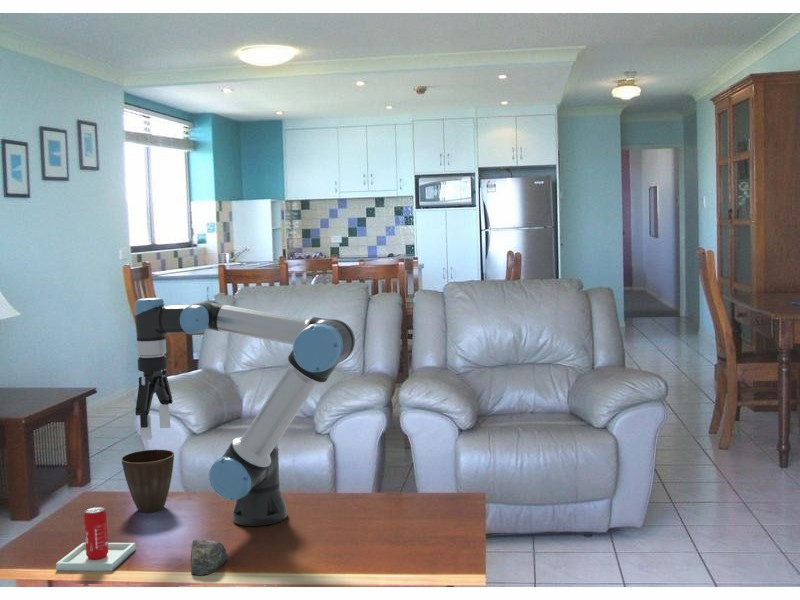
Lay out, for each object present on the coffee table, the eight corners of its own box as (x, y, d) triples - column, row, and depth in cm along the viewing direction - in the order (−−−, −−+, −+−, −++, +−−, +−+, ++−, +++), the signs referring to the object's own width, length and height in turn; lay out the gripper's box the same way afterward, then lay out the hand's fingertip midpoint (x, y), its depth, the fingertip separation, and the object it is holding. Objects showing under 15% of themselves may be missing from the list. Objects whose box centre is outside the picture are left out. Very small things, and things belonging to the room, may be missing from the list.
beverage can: (101, 561, 211) (98, 513, 210) (82, 560, 212) (79, 512, 211) (112, 553, 216) (109, 507, 215) (93, 552, 217) (91, 506, 216)
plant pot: (168, 516, 246) (165, 461, 245) (117, 518, 246) (113, 463, 245) (182, 500, 261) (179, 448, 260) (133, 502, 261) (130, 450, 260)
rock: (191, 556, 214) (190, 531, 213) (226, 553, 216) (225, 528, 215) (190, 577, 201) (189, 550, 200) (228, 573, 203) (227, 546, 202)
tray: (135, 549, 220) (135, 542, 220) (112, 570, 206) (112, 563, 206) (83, 549, 221) (82, 542, 221) (56, 570, 208) (56, 563, 207)
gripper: (155, 349, 244) (159, 423, 246) (119, 362, 219) (123, 444, 221) (181, 349, 244) (185, 423, 245) (147, 362, 219) (151, 444, 220)
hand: (156, 433), depth 233 cm, fingers open, 13 cm apart
